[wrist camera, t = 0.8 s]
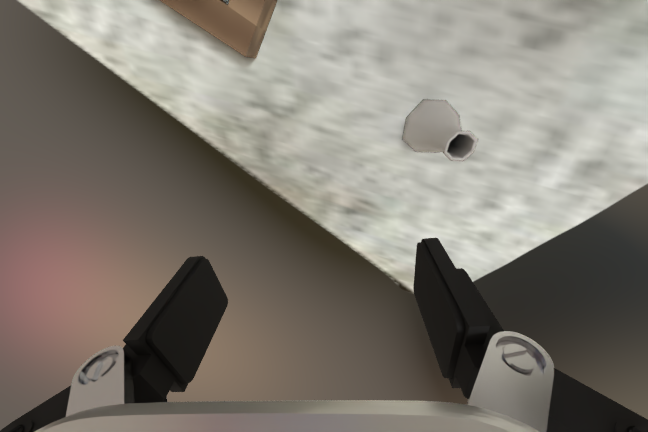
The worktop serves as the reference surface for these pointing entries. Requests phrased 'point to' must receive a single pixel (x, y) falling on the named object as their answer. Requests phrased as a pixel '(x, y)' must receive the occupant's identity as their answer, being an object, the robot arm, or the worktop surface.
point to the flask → (438, 131)
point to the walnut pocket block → (230, 20)
